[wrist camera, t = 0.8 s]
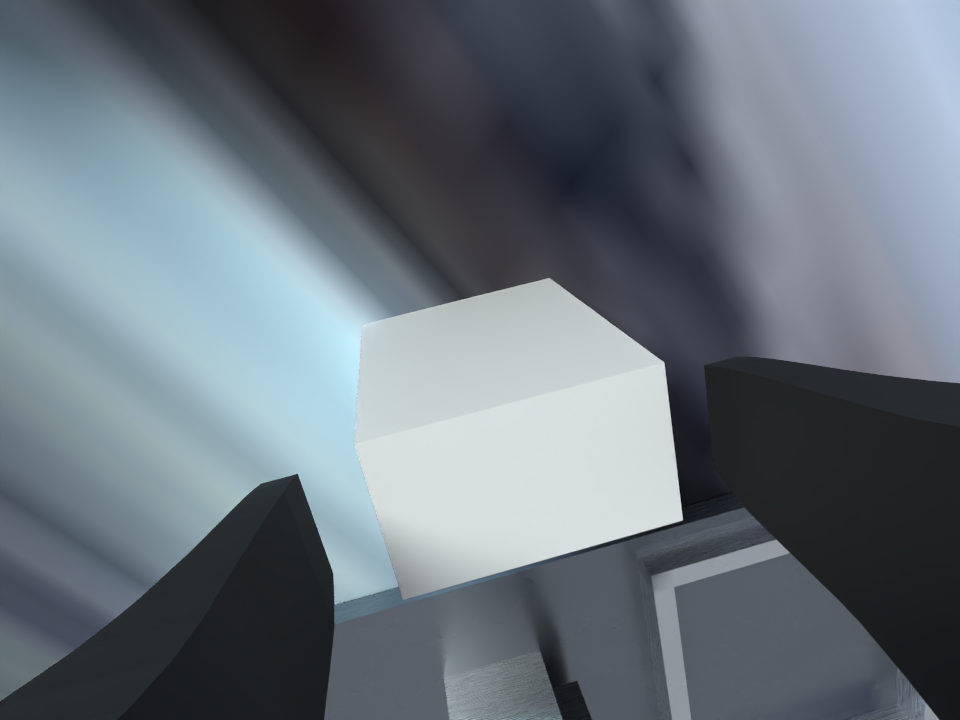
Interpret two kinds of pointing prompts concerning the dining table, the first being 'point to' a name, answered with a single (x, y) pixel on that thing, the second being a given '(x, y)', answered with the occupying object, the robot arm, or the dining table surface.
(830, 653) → the grey hollow box
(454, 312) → the white matte cuboid
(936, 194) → the dining table surface
